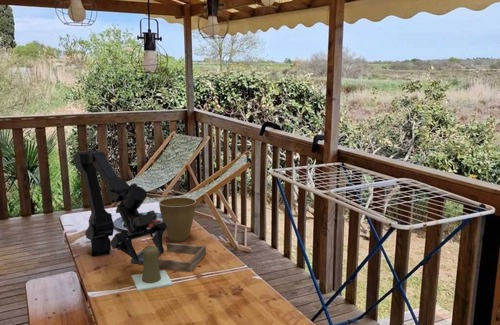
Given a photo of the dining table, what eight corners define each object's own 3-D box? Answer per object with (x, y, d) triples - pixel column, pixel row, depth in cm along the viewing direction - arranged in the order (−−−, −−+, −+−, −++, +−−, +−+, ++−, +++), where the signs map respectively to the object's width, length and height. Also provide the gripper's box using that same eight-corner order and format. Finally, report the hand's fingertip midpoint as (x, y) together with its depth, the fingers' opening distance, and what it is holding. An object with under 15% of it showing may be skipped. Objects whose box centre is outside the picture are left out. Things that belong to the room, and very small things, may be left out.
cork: (149, 284, 141) (147, 252, 139) (138, 279, 145) (137, 247, 143) (164, 278, 145) (163, 246, 143) (153, 273, 149) (152, 242, 147)
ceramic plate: (160, 213, 219) (159, 207, 218) (181, 228, 197) (180, 222, 197) (106, 222, 205) (106, 215, 205) (123, 238, 184) (122, 232, 183)
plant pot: (201, 241, 180) (201, 203, 178) (165, 247, 174) (164, 208, 171) (189, 230, 194) (189, 195, 191) (156, 235, 187) (154, 199, 184)
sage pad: (137, 291, 138) (137, 289, 138) (132, 277, 148) (131, 275, 148) (172, 285, 142) (172, 283, 142) (164, 271, 152) (164, 270, 152)
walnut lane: (149, 267, 156) (149, 259, 155) (168, 250, 171) (168, 242, 171) (190, 271, 152) (190, 263, 152) (206, 253, 168) (205, 246, 168)
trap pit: (131, 263, 159) (130, 259, 159) (147, 250, 171) (147, 246, 171) (149, 265, 157) (149, 260, 157) (164, 251, 170) (164, 247, 170)
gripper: (113, 209, 138) (133, 253, 132) (163, 198, 151) (184, 237, 145) (102, 227, 145) (121, 269, 139) (151, 215, 158) (170, 253, 152)
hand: (150, 257), depth 144 cm, fingers open, 9 cm apart
